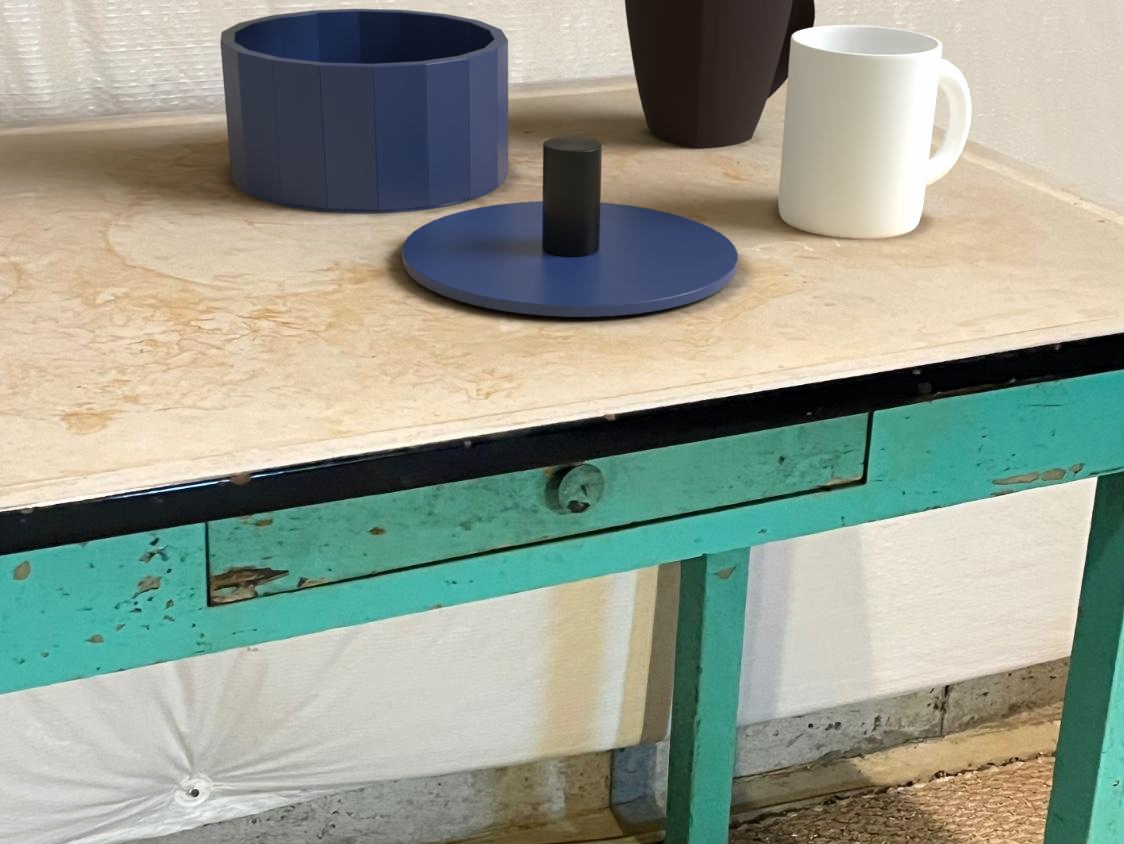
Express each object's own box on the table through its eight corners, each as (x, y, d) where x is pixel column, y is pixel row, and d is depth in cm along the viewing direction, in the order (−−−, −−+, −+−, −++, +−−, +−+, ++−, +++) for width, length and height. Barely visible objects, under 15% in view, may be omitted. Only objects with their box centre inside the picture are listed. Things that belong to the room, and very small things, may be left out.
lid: (334, 284, 87) (327, 153, 83) (519, 203, 100) (519, 88, 97) (634, 355, 79) (639, 214, 76) (791, 257, 93) (801, 133, 89)
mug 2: (916, 190, 105) (937, 16, 100) (1001, 228, 98) (1028, 44, 93) (750, 211, 100) (762, 30, 95) (827, 252, 93) (845, 59, 88)
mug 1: (596, 134, 115) (600, -54, 109) (748, 108, 122) (760, -69, 116) (691, 167, 108) (702, -31, 102) (846, 138, 115) (864, -49, 110)
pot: (172, 188, 101) (158, 41, 97) (347, 131, 114) (340, -2, 110) (399, 237, 94) (394, 80, 90) (558, 170, 107) (560, 30, 103)
